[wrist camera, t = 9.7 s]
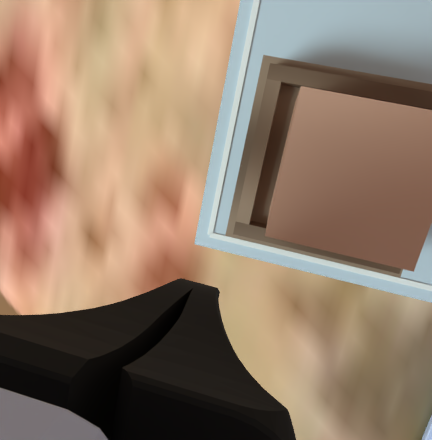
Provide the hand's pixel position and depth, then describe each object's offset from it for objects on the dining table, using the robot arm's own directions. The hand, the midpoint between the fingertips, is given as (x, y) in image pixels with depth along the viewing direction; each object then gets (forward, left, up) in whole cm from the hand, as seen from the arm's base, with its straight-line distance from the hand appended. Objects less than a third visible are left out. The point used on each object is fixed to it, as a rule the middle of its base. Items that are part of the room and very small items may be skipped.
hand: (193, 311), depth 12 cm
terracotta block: (+5, -4, -6) cm, 9 cm away
